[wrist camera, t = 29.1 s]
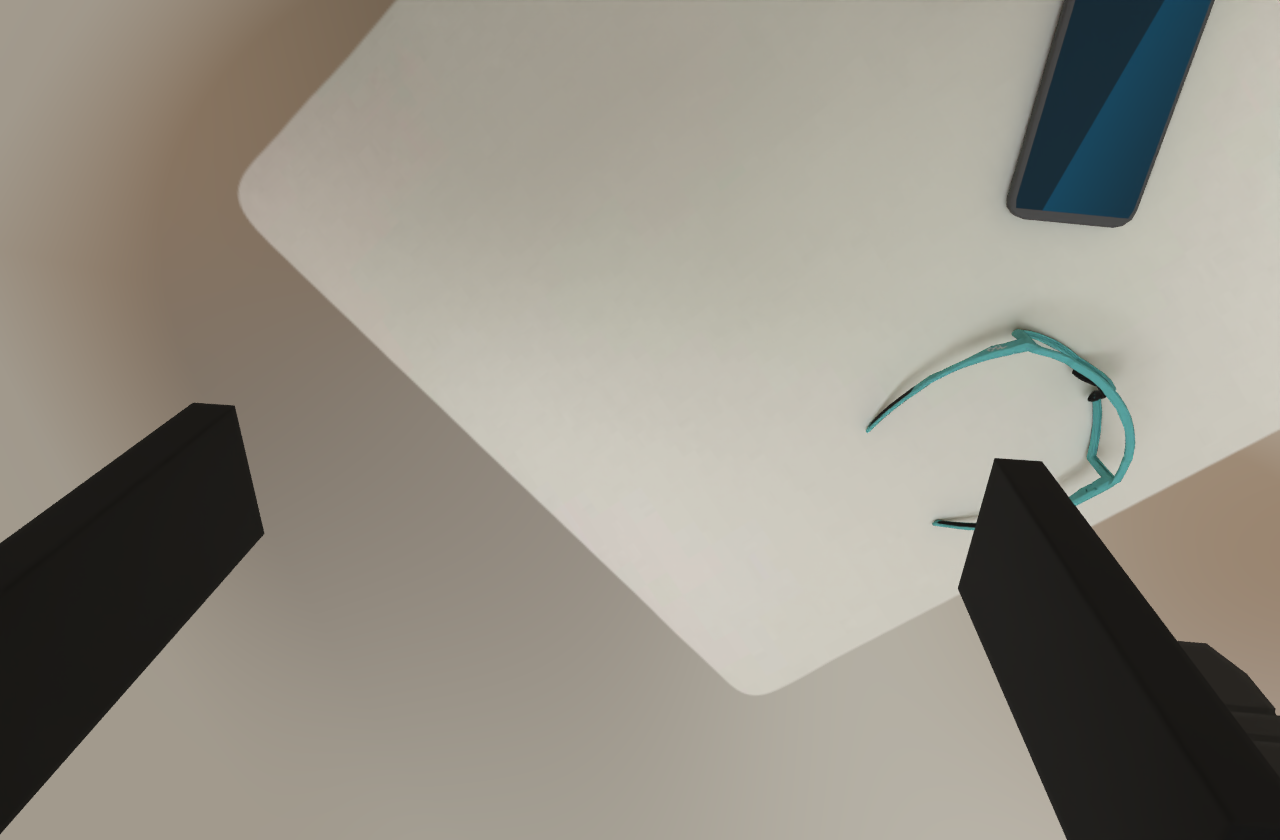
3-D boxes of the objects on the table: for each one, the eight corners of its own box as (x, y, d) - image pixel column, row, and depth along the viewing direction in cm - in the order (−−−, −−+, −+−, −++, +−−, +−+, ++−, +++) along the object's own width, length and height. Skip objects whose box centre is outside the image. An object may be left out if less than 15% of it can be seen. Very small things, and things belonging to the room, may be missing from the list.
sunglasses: (1143, 442, 54) (1173, 484, 50) (942, 529, 60) (954, 572, 56) (1054, 286, 49) (1079, 316, 45) (847, 397, 56) (852, 433, 52)
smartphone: (1000, 214, 48) (1005, 217, 47) (1083, -74, 41) (1091, -76, 40) (1124, 226, 47) (1132, 229, 47) (1230, -62, 40) (1241, -64, 40)
